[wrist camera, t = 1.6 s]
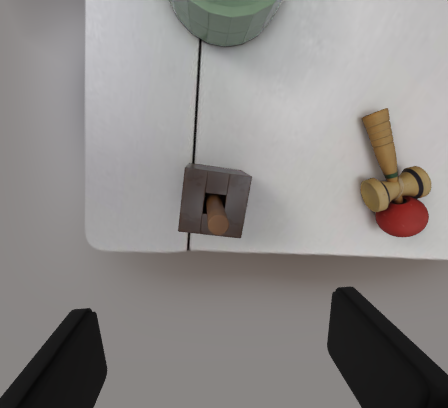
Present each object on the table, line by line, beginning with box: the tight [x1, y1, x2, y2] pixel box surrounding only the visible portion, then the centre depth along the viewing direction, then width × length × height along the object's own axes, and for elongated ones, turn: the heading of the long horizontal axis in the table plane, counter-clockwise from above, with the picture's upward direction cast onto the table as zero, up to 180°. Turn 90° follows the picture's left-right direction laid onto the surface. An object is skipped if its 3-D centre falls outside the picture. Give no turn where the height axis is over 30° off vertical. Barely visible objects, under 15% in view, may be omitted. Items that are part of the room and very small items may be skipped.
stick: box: [206, 193, 229, 235], centre depth 26 cm, size 2×2×14 cm
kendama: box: [361, 108, 431, 237], centre depth 32 cm, size 8×6×18 cm
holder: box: [178, 163, 252, 238], centre depth 29 cm, size 7×7×7 cm
